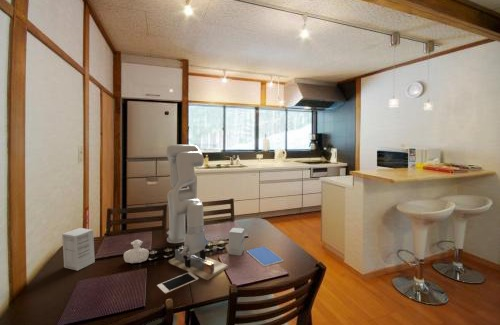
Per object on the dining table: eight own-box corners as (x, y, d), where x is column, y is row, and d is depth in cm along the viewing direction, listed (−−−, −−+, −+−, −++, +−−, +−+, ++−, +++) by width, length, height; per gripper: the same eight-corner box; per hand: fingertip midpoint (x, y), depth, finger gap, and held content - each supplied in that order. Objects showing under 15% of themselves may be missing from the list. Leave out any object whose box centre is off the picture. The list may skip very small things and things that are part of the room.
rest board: (168, 262, 128) (168, 260, 128) (189, 252, 139) (189, 250, 139) (207, 280, 113) (207, 277, 113) (227, 267, 124) (227, 265, 124)
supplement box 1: (95, 262, 127) (94, 229, 126) (77, 271, 119) (76, 236, 117) (81, 259, 130) (80, 227, 129) (63, 267, 122) (61, 233, 120)
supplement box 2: (241, 255, 137) (241, 233, 136) (228, 254, 138) (228, 231, 137) (244, 250, 144) (244, 228, 143) (231, 248, 146) (232, 227, 144)
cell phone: (156, 286, 108) (156, 285, 108) (190, 273, 119) (190, 271, 119) (165, 294, 103) (165, 293, 103) (199, 279, 114) (199, 278, 114)
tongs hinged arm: (180, 259, 129) (180, 251, 129) (182, 258, 130) (182, 250, 130) (212, 272, 117) (212, 264, 116) (214, 271, 117) (214, 263, 117)
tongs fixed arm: (174, 258, 130) (173, 250, 129) (178, 257, 132) (177, 248, 131) (210, 274, 115) (210, 264, 115) (214, 272, 117) (214, 262, 117)
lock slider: (189, 255, 133) (189, 248, 133) (193, 253, 136) (193, 246, 135) (196, 257, 130) (196, 251, 130) (200, 255, 133) (200, 249, 132)
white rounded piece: (149, 263, 132) (150, 241, 137) (147, 260, 125) (149, 237, 131) (124, 265, 129) (126, 243, 134) (121, 262, 122) (123, 239, 128)
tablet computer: (284, 262, 132) (284, 259, 131) (263, 268, 126) (263, 265, 125) (264, 248, 148) (264, 245, 148) (245, 252, 142) (245, 250, 142)
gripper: (202, 222, 130) (202, 254, 132) (175, 232, 116) (175, 267, 118) (213, 225, 126) (213, 258, 127) (186, 235, 112) (186, 272, 113)
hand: (195, 262), depth 123 cm, fingers open, 9 cm apart
